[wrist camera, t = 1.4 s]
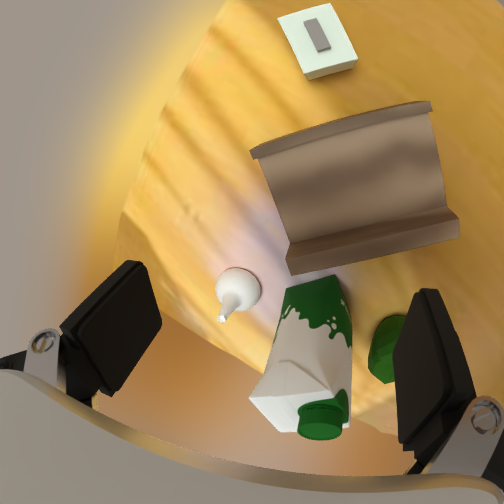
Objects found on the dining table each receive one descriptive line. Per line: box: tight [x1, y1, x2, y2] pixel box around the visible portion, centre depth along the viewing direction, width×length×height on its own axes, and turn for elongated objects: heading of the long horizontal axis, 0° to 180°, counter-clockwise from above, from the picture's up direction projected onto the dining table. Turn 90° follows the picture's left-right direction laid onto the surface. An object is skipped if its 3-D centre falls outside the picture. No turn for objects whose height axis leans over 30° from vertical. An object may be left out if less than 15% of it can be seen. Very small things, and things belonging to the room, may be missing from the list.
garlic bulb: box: [215, 268, 260, 323], centre depth 37 cm, size 6×6×8 cm
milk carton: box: [249, 275, 352, 440], centre depth 30 cm, size 9×9×20 cm
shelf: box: [249, 101, 460, 276], centre depth 26 cm, size 13×18×7 cm
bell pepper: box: [368, 316, 406, 384], centre depth 33 cm, size 8×8×10 cm
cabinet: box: [277, 3, 358, 80], centre depth 20 cm, size 5×6×7 cm
